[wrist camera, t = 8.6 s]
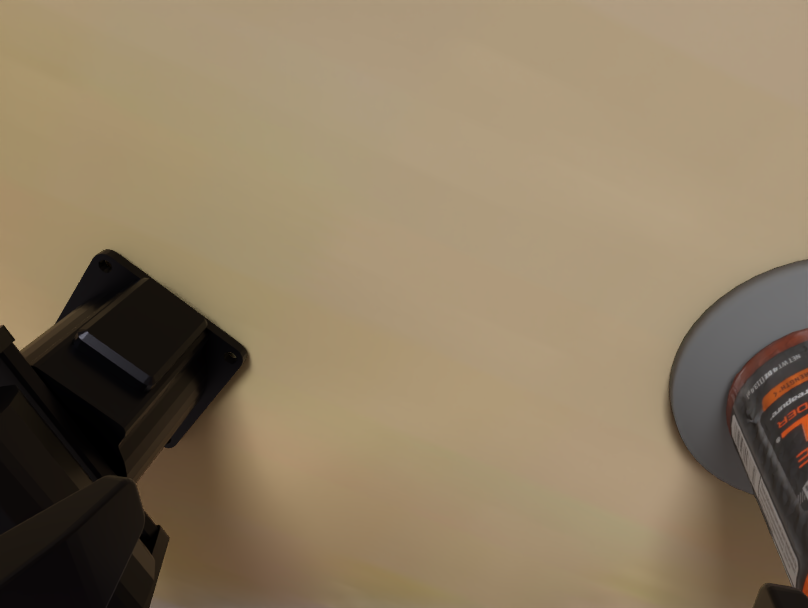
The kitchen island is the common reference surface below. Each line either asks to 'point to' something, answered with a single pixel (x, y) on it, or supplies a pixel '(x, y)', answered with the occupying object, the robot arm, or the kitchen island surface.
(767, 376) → the supplement bottle
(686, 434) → the coaster
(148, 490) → the kitchen island surface
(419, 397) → the kitchen island surface
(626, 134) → the kitchen island surface
